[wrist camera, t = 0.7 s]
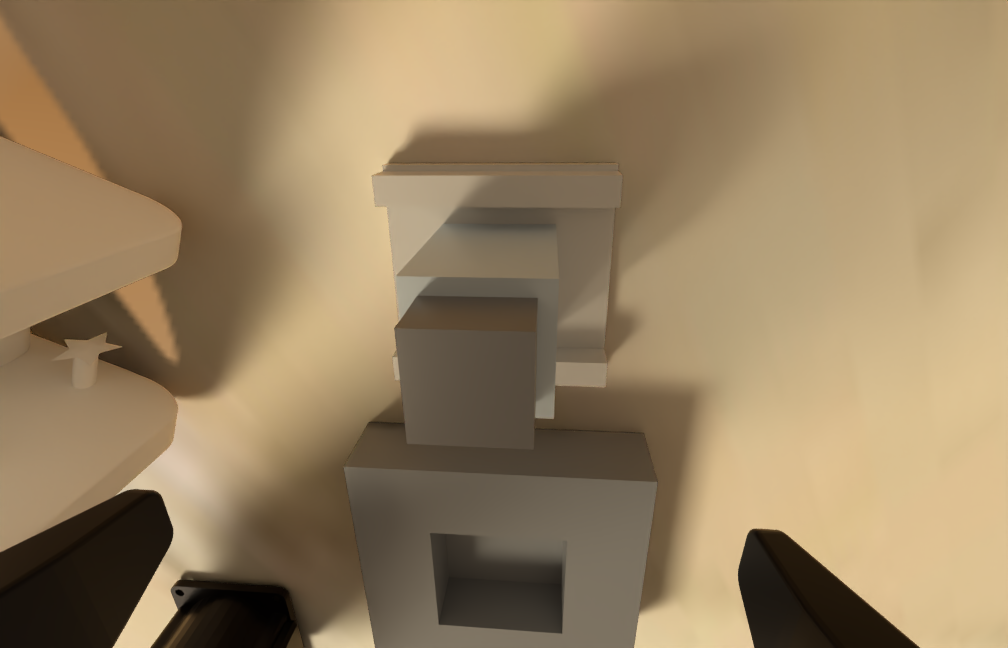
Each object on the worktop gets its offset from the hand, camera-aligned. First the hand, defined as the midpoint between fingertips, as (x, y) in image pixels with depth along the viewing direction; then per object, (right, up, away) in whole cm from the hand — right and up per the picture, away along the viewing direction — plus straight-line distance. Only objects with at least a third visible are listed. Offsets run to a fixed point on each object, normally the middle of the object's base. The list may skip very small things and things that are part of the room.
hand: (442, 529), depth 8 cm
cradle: (+1, +5, +11) cm, 12 cm away
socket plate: (+1, -7, +16) cm, 18 cm away
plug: (+1, +5, +11) cm, 12 cm away
